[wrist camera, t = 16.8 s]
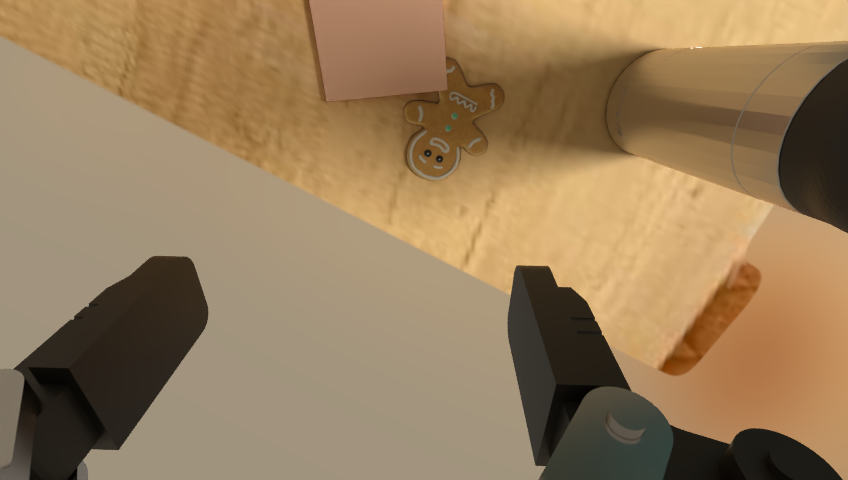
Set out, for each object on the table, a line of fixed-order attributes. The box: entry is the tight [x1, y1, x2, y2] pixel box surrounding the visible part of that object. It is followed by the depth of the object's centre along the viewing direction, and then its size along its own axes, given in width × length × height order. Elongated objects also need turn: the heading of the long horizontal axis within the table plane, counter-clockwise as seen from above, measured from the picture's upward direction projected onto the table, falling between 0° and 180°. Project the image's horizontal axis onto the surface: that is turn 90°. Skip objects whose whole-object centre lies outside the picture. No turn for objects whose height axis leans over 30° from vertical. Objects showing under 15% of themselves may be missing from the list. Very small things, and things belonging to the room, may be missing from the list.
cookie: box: [404, 57, 504, 181], centre depth 36 cm, size 8×1×10 cm
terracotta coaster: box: [309, 0, 447, 102], centre depth 32 cm, size 10×10×1 cm
